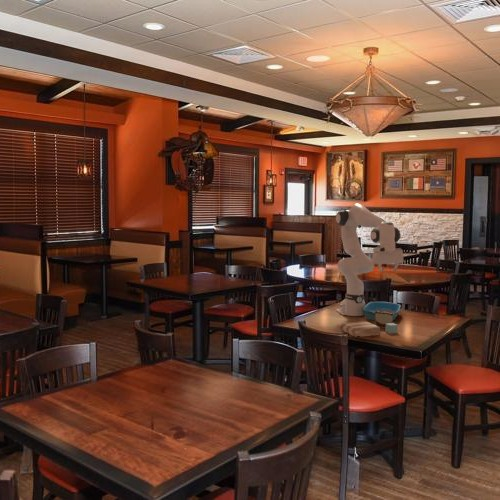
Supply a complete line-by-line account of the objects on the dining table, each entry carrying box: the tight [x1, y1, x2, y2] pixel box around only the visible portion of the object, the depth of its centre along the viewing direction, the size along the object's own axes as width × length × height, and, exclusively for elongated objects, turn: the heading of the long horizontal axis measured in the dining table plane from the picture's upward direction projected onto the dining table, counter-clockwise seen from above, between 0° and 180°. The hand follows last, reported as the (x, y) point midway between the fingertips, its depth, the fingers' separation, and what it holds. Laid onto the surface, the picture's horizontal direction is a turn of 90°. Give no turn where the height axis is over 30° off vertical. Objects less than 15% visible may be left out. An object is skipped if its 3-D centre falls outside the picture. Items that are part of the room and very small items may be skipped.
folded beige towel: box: [341, 320, 381, 338], centre depth 328 cm, size 16×16×5 cm
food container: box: [374, 310, 394, 329], centre depth 342 cm, size 12×6×10 cm, turn 59°
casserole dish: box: [363, 301, 401, 322], centre depth 370 cm, size 37×22×7 cm, turn 159°
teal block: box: [384, 322, 399, 334], centre depth 329 cm, size 5×5×5 cm
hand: (388, 271), depth 334 cm, fingers open, 8 cm apart
